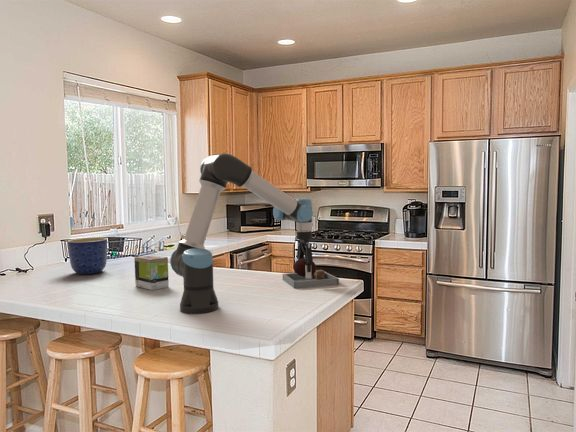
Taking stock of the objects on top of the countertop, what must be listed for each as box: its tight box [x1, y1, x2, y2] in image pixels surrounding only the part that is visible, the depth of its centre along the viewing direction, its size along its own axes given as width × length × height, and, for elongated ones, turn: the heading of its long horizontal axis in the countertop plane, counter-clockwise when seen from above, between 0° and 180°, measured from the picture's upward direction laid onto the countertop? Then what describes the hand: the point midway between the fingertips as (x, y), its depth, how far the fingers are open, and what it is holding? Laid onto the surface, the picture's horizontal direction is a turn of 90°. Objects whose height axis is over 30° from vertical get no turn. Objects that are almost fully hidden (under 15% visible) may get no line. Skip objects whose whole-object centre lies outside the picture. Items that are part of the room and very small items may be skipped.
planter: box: [66, 236, 108, 276], centre depth 265 cm, size 21×21×19 cm
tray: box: [282, 270, 340, 289], centre depth 228 cm, size 22×20×4 cm
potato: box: [292, 257, 317, 277], centre depth 227 cm, size 9×12×9 cm
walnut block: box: [314, 269, 325, 280], centre depth 236 cm, size 4×4×4 cm
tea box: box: [134, 254, 170, 291], centre depth 227 cm, size 15×10×15 cm
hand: (304, 276), depth 228 cm, fingers closed on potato, 10 cm apart
